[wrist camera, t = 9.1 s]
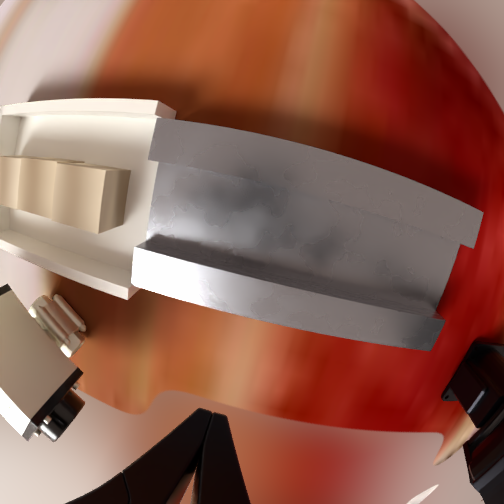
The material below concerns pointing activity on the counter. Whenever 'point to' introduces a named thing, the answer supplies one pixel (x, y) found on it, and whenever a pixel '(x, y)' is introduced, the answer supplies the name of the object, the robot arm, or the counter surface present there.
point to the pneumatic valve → (39, 364)
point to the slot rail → (298, 236)
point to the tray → (92, 152)
